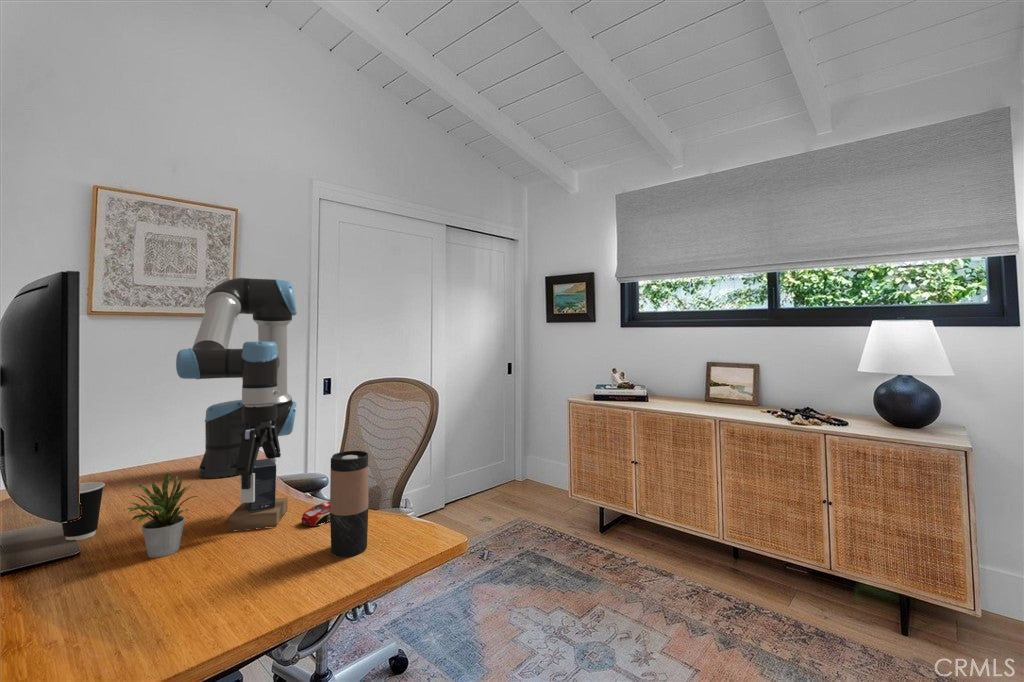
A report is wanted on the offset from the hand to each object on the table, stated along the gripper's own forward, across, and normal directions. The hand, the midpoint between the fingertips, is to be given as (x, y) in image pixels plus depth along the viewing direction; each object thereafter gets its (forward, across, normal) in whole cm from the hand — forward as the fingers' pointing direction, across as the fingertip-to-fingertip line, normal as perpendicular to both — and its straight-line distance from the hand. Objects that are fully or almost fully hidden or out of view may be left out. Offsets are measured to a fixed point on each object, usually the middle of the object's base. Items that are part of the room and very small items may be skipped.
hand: (259, 492), depth 108 cm
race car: (+7, 0, -16) cm, 18 cm away
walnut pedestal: (+7, 0, 0) cm, 7 cm away
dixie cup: (+7, -4, +36) cm, 37 cm away
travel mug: (+7, -18, -25) cm, 32 cm away
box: (+4, 0, 0) cm, 4 cm away
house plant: (+7, -14, +14) cm, 21 cm away
